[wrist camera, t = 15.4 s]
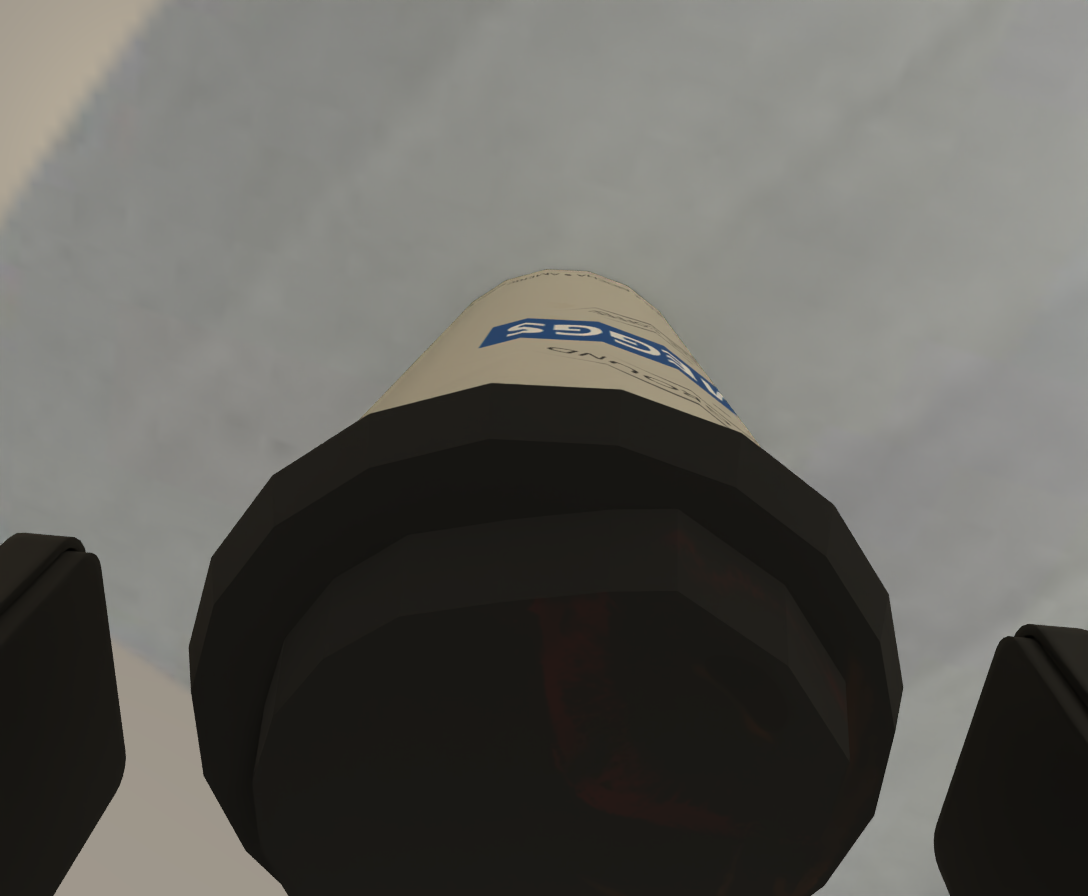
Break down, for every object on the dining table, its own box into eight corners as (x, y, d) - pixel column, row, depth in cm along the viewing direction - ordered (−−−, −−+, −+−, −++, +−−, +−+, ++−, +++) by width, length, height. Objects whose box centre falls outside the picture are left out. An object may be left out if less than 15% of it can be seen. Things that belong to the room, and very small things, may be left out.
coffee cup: (549, 621, 19) (517, 1174, 10) (289, 380, 17) (-44, 798, 8) (836, 408, 17) (1125, 869, 8) (575, 103, 15) (560, 250, 6)
